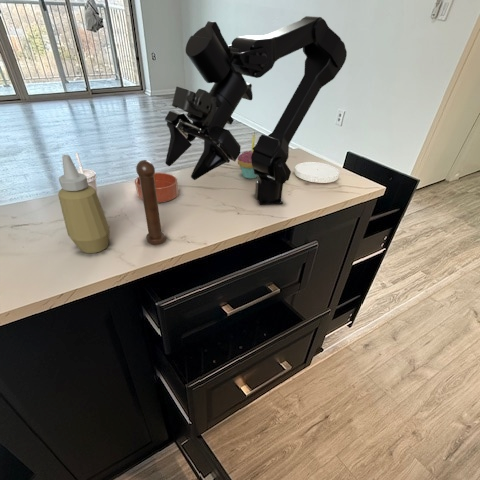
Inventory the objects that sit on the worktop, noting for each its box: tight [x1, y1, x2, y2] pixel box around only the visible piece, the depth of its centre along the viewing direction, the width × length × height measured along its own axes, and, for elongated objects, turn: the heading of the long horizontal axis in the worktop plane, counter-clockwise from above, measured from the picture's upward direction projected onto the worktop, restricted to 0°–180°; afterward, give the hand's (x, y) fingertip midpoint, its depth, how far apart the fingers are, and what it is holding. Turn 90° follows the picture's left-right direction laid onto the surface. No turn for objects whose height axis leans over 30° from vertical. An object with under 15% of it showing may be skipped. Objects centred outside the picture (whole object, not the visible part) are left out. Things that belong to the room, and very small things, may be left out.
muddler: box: [135, 159, 166, 246], centre depth 65 cm, size 4×4×17 cm
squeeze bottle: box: [57, 154, 111, 254], centre depth 61 cm, size 8×8×18 cm
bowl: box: [134, 172, 179, 204], centre depth 86 cm, size 11×11×4 cm
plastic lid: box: [294, 161, 340, 184], centre depth 102 cm, size 14×14×2 cm
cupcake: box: [237, 131, 259, 179], centre depth 97 cm, size 9×8×12 cm
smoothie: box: [74, 152, 99, 197], centre depth 73 cm, size 6×6×14 cm
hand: (179, 171), depth 65 cm, fingers open, 9 cm apart
